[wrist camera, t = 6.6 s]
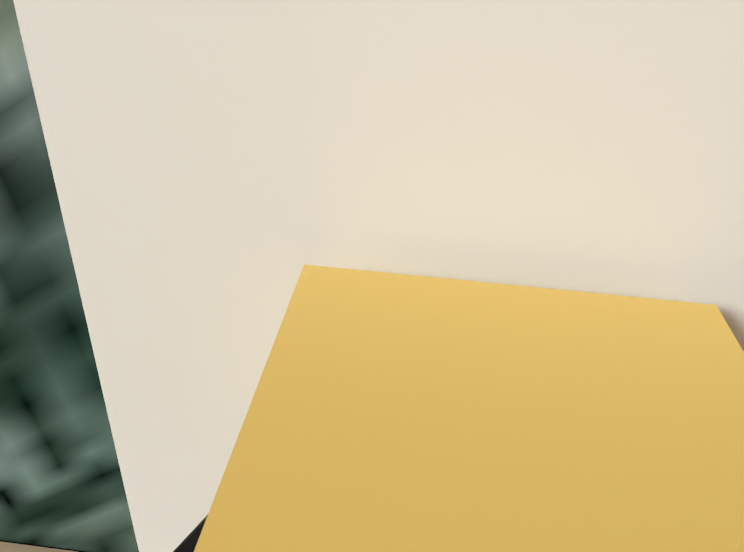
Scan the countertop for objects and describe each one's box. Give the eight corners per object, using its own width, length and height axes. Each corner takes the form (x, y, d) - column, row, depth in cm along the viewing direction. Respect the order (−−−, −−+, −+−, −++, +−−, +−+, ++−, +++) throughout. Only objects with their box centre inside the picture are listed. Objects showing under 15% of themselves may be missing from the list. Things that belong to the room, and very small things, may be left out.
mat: (739, 637, 13) (750, 668, 13) (158, 561, 14) (147, 587, 14) (1133, -2, 7) (1187, 9, 6) (28, -72, 8) (-3, -67, 7)
